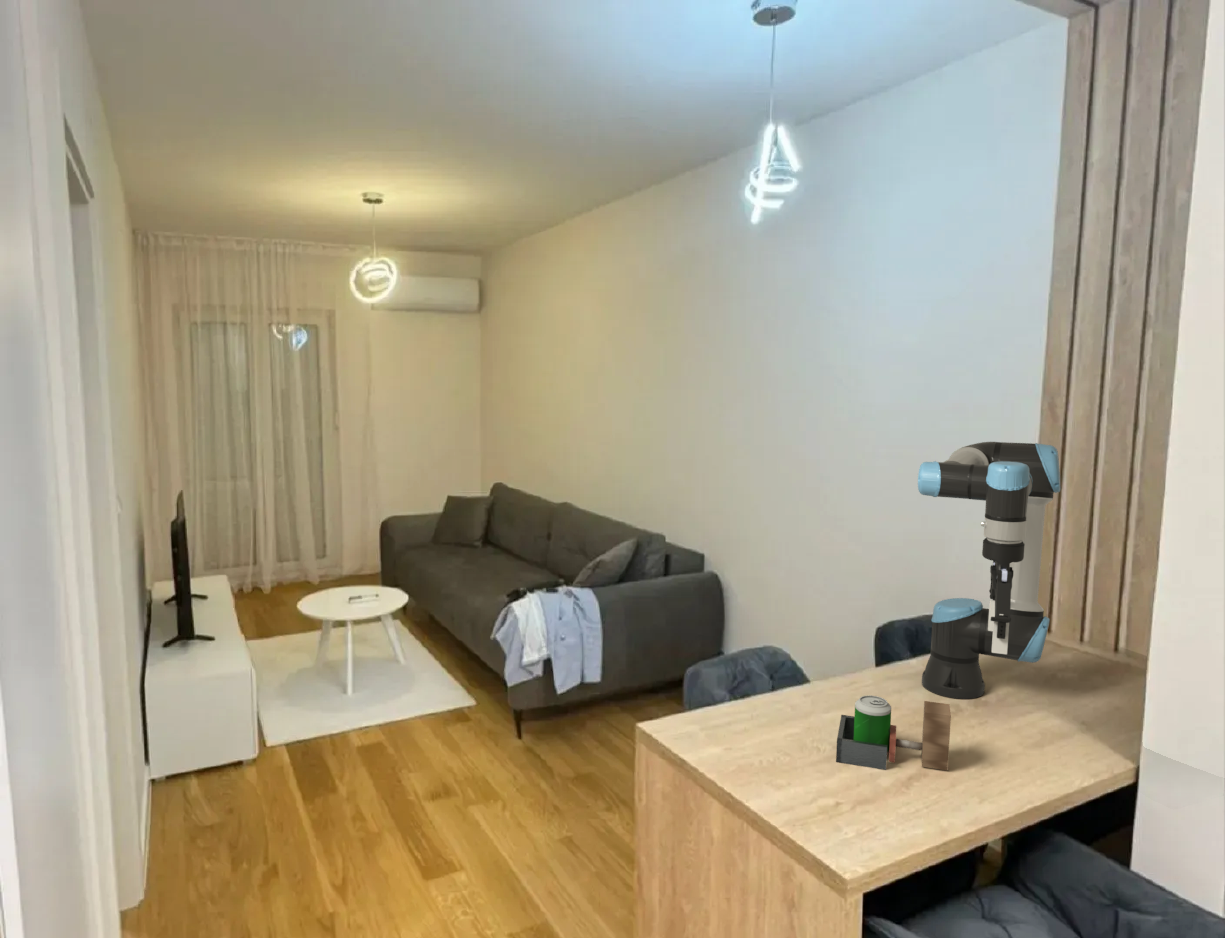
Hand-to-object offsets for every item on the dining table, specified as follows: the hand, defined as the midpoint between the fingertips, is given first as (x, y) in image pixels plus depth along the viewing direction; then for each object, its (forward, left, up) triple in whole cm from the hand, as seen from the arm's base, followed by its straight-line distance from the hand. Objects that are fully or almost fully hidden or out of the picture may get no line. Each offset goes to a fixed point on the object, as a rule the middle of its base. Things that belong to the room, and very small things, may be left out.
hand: (996, 641), depth 165 cm
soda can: (+18, -15, -28) cm, 37 cm away
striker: (+11, -9, -28) cm, 31 cm away
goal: (+19, -16, -28) cm, 38 cm away
